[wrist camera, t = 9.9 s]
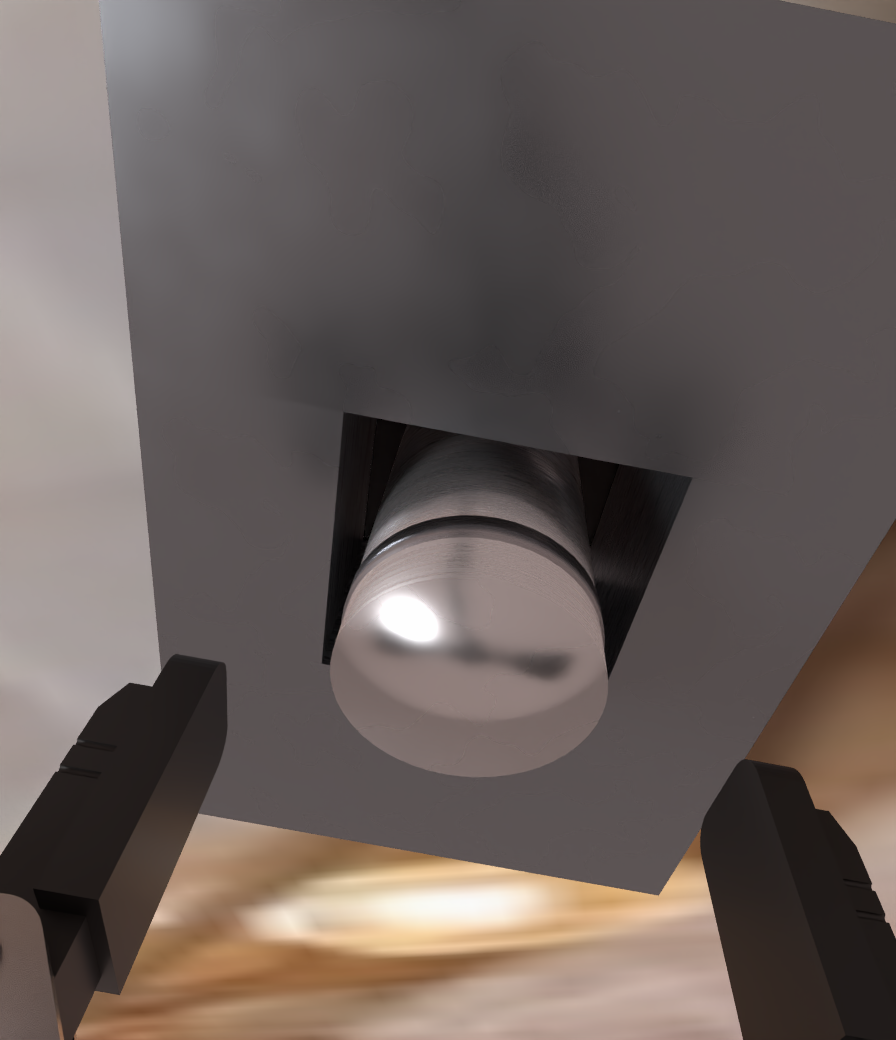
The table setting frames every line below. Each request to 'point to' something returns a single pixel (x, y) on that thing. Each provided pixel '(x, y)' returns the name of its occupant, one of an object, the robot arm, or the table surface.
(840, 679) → the table surface
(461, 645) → the piston
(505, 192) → the grey block with hole
